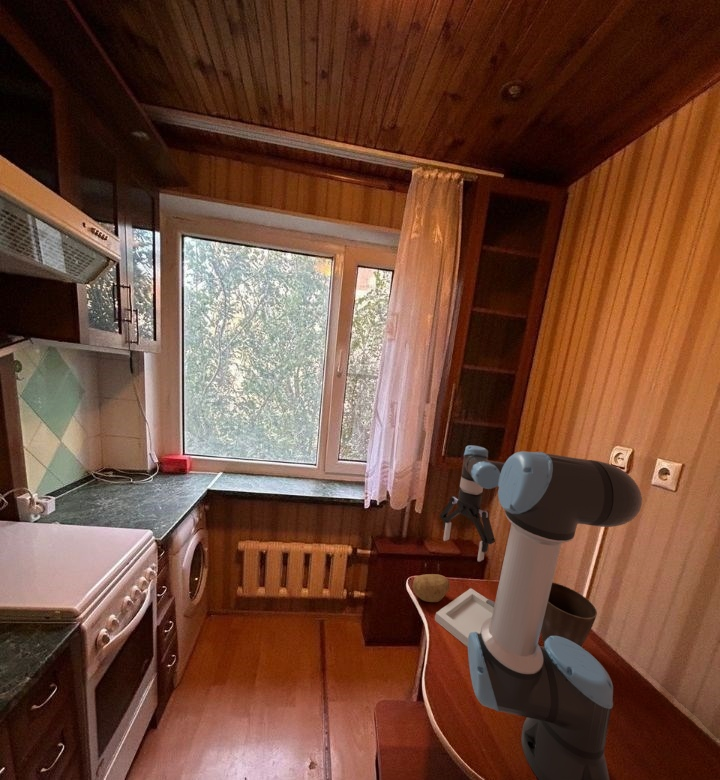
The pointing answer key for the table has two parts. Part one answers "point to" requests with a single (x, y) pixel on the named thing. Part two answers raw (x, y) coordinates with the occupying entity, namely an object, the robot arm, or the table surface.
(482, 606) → the white rimmed tray
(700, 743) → the table surface
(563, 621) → the plant pot
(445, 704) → the table surface
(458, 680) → the table surface
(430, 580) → the potato
